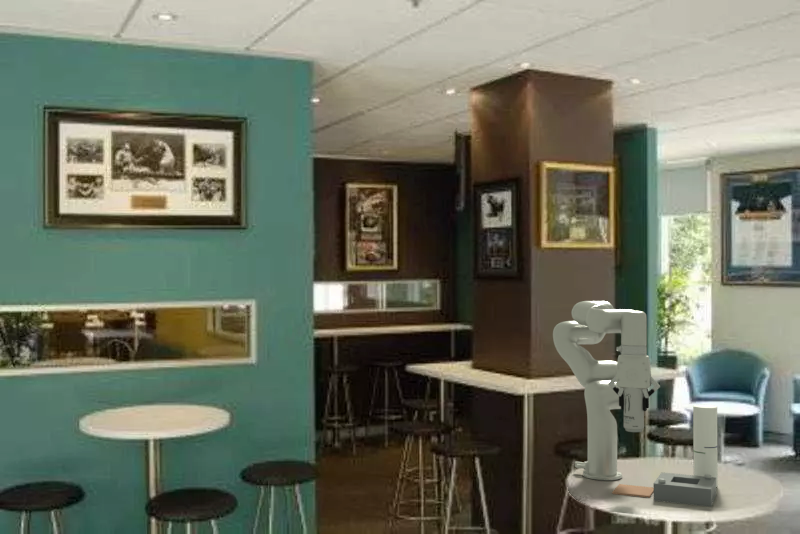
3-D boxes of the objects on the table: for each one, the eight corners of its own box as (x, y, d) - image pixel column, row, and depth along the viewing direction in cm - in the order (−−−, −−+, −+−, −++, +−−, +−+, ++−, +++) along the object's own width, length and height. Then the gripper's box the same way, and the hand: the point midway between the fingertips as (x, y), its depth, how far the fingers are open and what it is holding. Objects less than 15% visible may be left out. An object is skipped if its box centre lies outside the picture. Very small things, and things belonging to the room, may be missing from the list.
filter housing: (653, 500, 247) (653, 480, 247) (661, 488, 261) (661, 469, 261) (711, 506, 240) (711, 485, 240) (716, 494, 254) (716, 474, 255)
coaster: (612, 493, 254) (612, 491, 254) (619, 485, 264) (619, 483, 264) (649, 497, 250) (649, 495, 250) (655, 489, 260) (655, 487, 260)
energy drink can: (619, 429, 259) (619, 381, 259) (635, 428, 261) (635, 380, 262) (631, 433, 254) (631, 383, 254) (648, 431, 256) (648, 382, 256)
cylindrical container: (719, 488, 261) (719, 408, 261) (695, 487, 262) (695, 407, 263) (715, 483, 268) (715, 405, 268) (692, 482, 269) (691, 404, 270)
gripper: (603, 350, 258) (602, 409, 258) (661, 353, 251) (661, 413, 250) (607, 349, 265) (607, 406, 265) (664, 351, 257) (664, 410, 257)
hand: (633, 409), depth 258 cm, fingers closed on energy drink can, 6 cm apart
